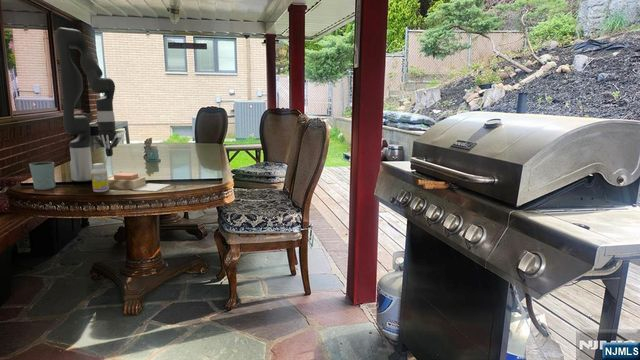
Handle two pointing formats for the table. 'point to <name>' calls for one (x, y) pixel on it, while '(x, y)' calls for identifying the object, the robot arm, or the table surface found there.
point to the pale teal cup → (43, 175)
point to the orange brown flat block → (126, 176)
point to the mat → (151, 187)
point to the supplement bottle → (99, 178)
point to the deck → (125, 183)
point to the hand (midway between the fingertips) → (109, 156)
